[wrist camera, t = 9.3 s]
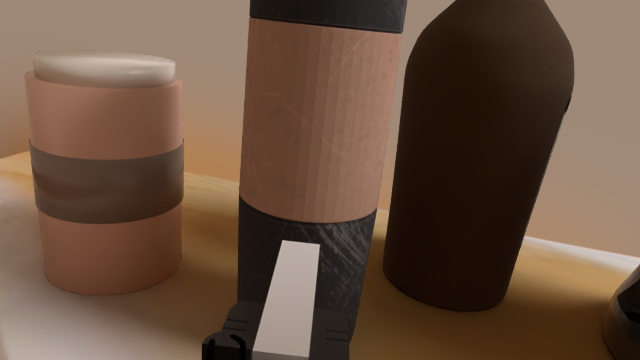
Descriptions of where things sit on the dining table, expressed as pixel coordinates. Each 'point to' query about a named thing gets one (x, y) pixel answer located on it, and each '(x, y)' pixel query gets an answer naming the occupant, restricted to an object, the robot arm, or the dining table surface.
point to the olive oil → (474, 148)
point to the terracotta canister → (106, 168)
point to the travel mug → (315, 139)
